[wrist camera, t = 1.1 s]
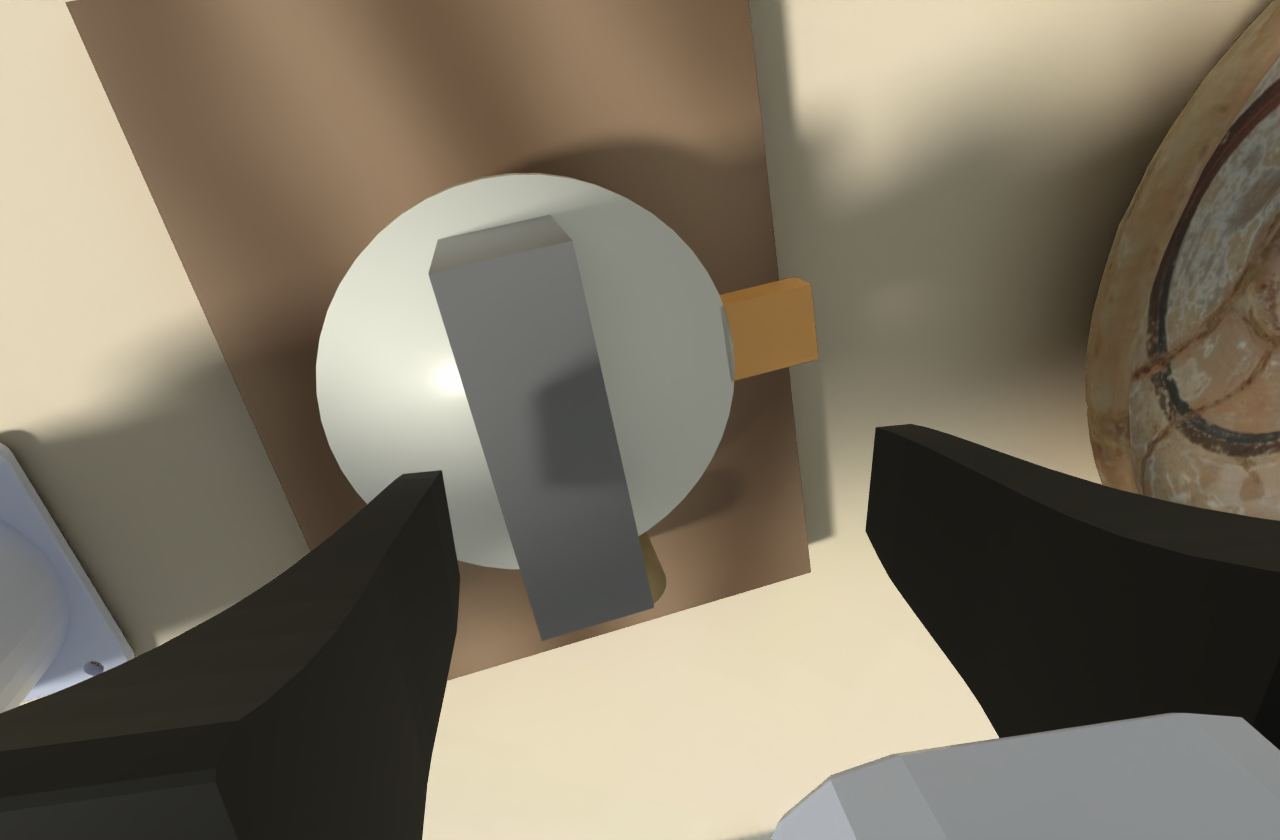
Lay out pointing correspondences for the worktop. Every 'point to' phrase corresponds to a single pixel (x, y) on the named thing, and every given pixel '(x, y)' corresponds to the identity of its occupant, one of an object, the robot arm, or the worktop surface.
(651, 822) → the worktop surface
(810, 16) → the worktop surface
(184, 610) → the worktop surface
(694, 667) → the worktop surface
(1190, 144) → the ceramic bowl
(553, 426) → the flange disc
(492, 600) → the walnut base
